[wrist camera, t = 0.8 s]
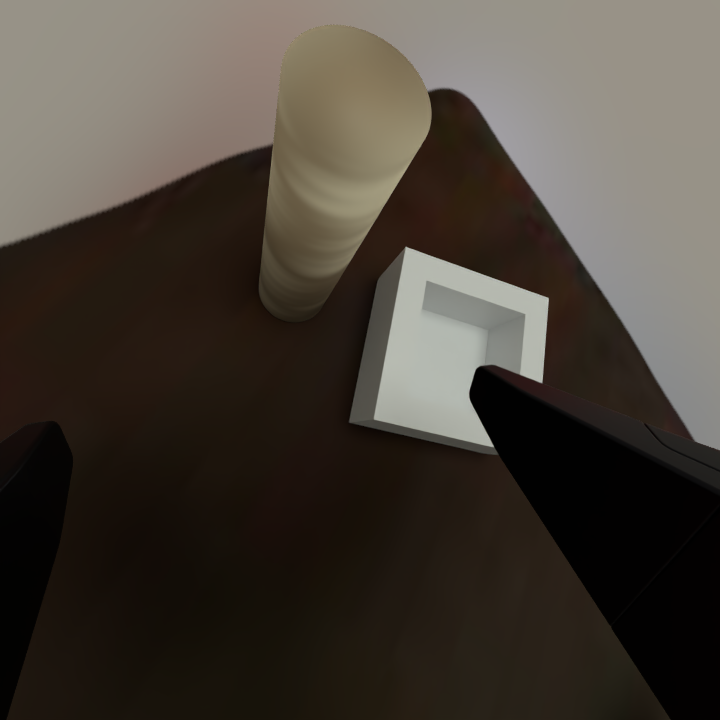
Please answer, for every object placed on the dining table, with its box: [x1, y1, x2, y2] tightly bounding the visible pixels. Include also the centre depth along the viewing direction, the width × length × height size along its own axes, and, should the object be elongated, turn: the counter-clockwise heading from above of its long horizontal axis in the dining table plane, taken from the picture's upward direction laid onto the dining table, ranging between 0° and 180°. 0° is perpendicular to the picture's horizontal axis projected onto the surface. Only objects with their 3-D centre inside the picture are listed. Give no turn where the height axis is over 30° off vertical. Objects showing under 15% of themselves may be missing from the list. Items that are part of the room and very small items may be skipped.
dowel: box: [259, 25, 431, 323], centre depth 16 cm, size 4×4×14 cm
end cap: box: [349, 247, 549, 455], centre depth 22 cm, size 9×9×4 cm
